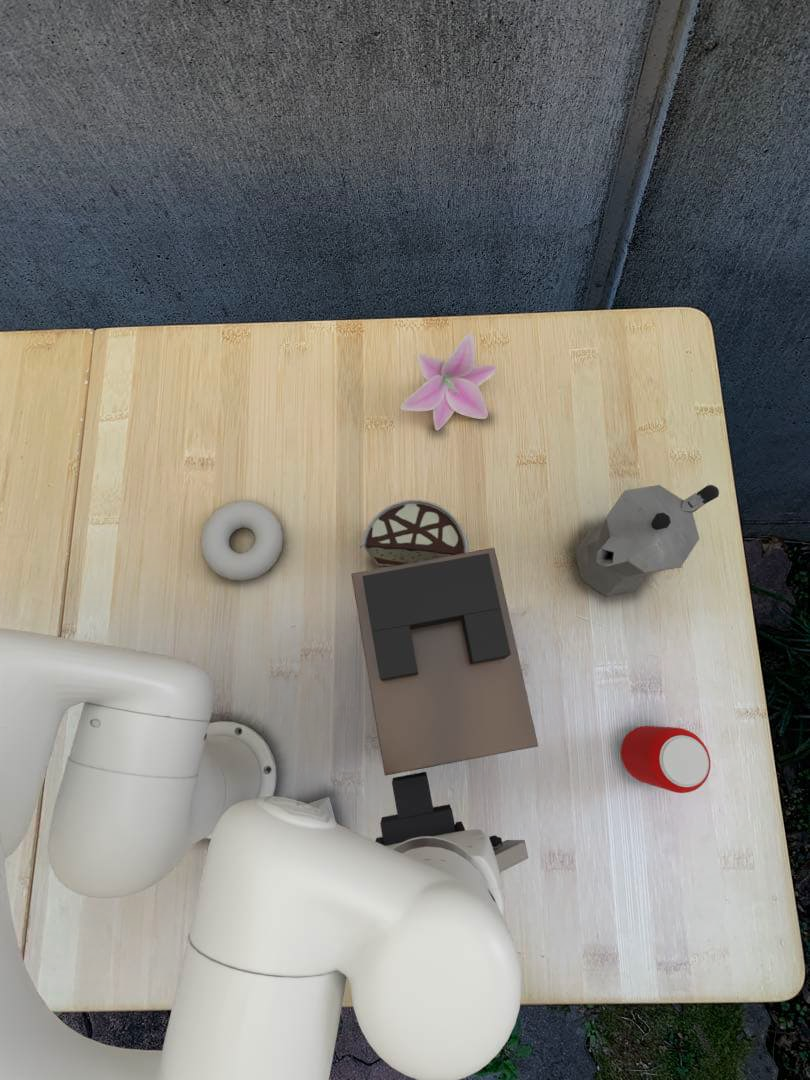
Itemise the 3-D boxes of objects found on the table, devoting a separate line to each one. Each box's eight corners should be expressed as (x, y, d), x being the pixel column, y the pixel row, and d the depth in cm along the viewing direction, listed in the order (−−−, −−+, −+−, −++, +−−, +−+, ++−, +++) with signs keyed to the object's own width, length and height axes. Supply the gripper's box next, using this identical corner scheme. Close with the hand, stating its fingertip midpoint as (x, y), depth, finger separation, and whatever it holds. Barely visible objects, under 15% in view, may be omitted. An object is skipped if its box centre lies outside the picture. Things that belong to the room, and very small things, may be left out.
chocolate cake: (468, 524, 85) (475, 500, 75) (465, 573, 83) (471, 554, 73) (370, 515, 85) (364, 490, 75) (365, 563, 84) (358, 544, 74)
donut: (220, 595, 83) (296, 565, 84) (211, 590, 80) (291, 559, 80) (195, 522, 85) (270, 493, 86) (186, 514, 82) (264, 484, 83)
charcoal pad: (393, 892, 57) (392, 902, 54) (375, 781, 59) (373, 784, 56) (463, 878, 57) (466, 887, 54) (443, 768, 60) (444, 771, 57)
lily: (386, 422, 89) (405, 425, 80) (400, 330, 87) (421, 322, 78) (472, 436, 92) (498, 440, 83) (487, 348, 90) (516, 342, 81)
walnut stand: (395, 754, 78) (384, 775, 52) (372, 617, 82) (351, 573, 56) (498, 735, 78) (538, 746, 52) (470, 599, 82) (494, 547, 56)
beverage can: (657, 717, 78) (698, 718, 67) (681, 770, 77) (728, 780, 65) (608, 737, 78) (642, 741, 66) (632, 791, 77) (671, 805, 65)
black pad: (381, 681, 54) (379, 679, 51) (365, 583, 56) (362, 575, 53) (506, 657, 54) (511, 654, 51) (485, 561, 56) (488, 552, 53)
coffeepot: (589, 621, 81) (636, 596, 64) (545, 555, 83) (578, 514, 66) (693, 555, 83) (766, 513, 66) (647, 493, 85) (706, 436, 68)
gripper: (291, 1010, 39) (328, 917, 56) (587, 950, 39) (532, 876, 57) (274, 869, 40) (314, 821, 58) (557, 813, 41) (512, 783, 59)
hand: (422, 849), depth 57 cm, fingers closed on charcoal pad, 6 cm apart
